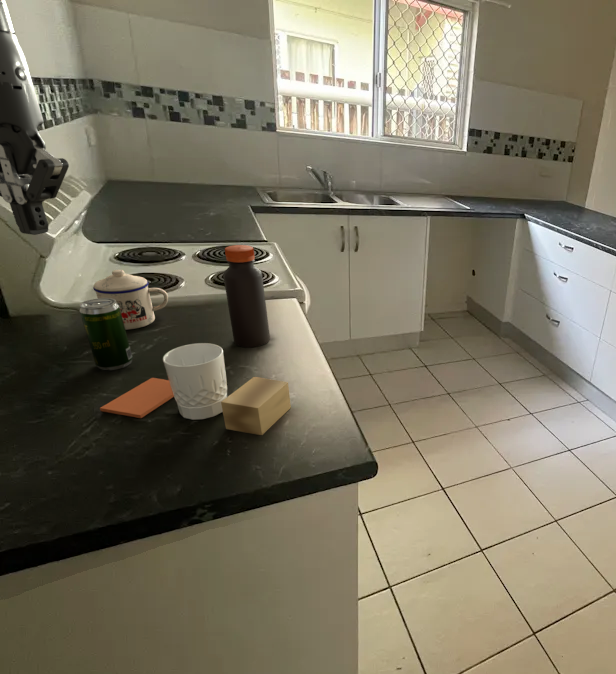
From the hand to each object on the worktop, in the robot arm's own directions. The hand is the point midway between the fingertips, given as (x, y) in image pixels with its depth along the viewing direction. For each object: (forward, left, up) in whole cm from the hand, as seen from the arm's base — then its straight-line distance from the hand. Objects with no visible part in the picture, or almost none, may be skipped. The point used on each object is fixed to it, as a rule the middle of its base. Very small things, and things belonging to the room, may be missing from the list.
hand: (35, 232), depth 59 cm
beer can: (-3, +20, -29) cm, 36 cm away
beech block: (+22, -4, -29) cm, 37 cm away
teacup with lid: (-4, +40, -29) cm, 50 cm away
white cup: (+14, +1, -29) cm, 32 cm away
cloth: (+5, +6, -29) cm, 30 cm away
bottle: (+19, +26, -29) cm, 43 cm away
